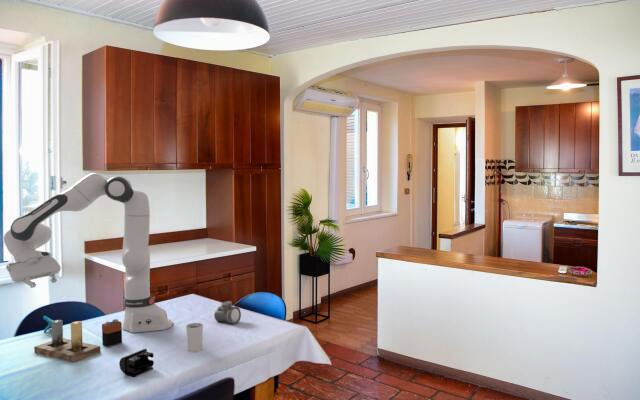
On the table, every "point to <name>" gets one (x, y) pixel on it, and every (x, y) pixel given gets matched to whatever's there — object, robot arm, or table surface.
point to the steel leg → (57, 333)
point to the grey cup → (194, 336)
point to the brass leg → (76, 336)
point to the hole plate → (67, 351)
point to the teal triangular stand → (48, 322)
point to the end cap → (136, 363)
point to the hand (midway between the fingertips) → (44, 284)
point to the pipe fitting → (228, 313)
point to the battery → (112, 333)
